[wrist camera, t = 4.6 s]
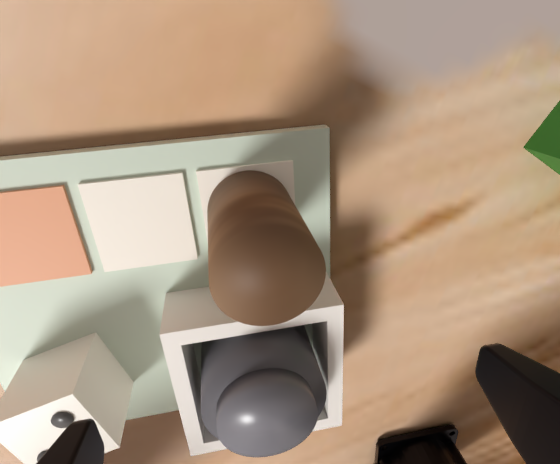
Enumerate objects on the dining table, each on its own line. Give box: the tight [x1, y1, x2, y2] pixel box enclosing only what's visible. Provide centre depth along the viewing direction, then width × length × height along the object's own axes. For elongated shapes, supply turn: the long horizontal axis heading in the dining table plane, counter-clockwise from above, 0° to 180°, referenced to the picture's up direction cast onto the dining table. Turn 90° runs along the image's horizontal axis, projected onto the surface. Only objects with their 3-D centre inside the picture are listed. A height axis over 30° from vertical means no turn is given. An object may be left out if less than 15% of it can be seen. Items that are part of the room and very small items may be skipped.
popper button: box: [201, 325, 327, 457], centre depth 20 cm, size 6×6×5 cm
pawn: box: [207, 170, 326, 326], centre depth 16 cm, size 4×4×6 cm
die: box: [0, 332, 134, 464], centre depth 19 cm, size 4×4×4 cm
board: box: [0, 124, 344, 456], centre depth 19 cm, size 18×16×4 cm
